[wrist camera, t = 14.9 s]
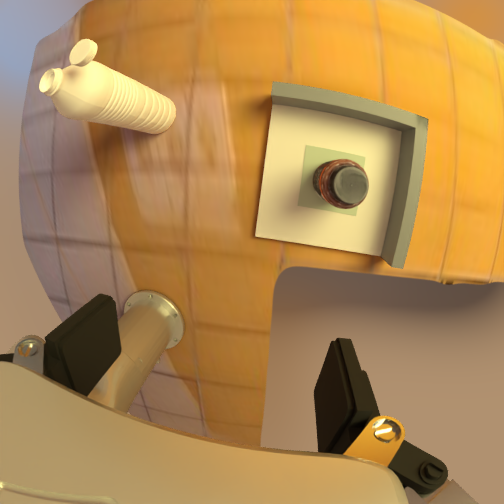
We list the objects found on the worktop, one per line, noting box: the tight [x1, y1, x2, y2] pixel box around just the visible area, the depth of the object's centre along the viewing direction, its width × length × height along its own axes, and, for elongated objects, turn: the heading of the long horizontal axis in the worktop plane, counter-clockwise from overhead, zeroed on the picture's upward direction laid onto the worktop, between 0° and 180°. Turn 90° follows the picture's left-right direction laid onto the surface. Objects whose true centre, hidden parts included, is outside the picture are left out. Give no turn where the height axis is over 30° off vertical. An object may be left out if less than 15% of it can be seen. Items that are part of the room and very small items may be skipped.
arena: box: [255, 82, 428, 269], centre depth 36 cm, size 22×22×6 cm
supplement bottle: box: [313, 159, 369, 209], centre depth 32 cm, size 6×6×11 cm
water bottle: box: [39, 39, 176, 134], centre depth 26 cm, size 9×6×25 cm
